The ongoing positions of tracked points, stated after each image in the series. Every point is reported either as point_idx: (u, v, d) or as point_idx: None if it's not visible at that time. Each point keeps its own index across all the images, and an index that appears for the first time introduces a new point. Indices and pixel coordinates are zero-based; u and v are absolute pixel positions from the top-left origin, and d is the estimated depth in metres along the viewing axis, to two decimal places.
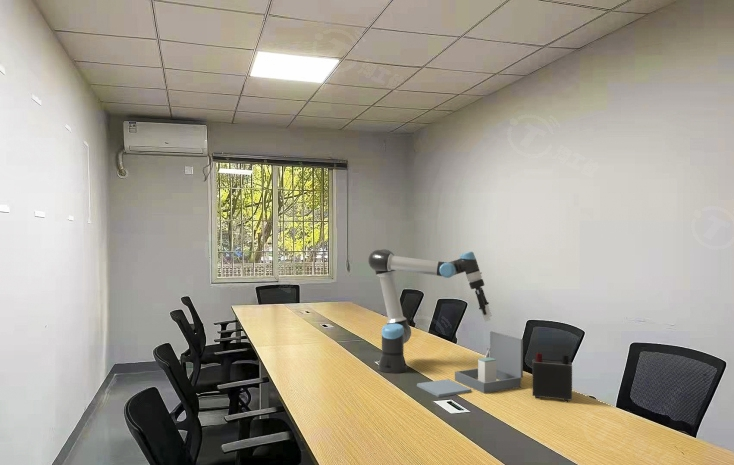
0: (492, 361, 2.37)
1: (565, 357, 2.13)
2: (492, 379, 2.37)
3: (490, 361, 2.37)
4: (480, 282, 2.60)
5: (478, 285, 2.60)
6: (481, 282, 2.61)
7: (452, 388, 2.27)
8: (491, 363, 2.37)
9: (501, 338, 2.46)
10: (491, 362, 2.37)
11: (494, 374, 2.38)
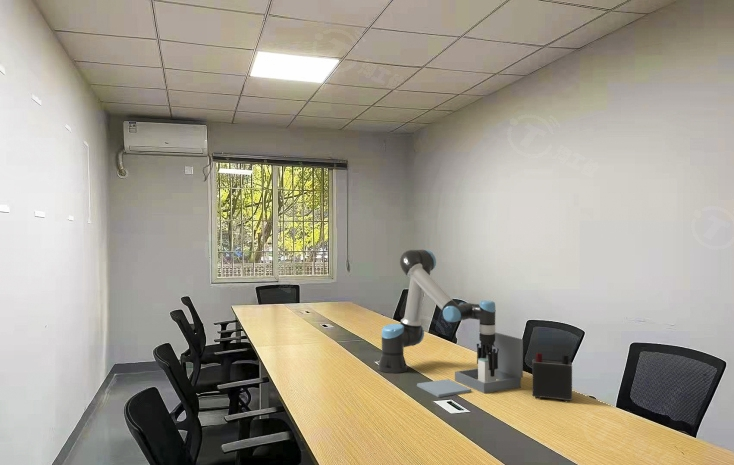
0: None
1: (565, 357, 2.13)
2: None
3: None
4: None
5: (493, 340, 2.36)
6: None
7: (452, 388, 2.27)
8: None
9: (501, 338, 2.46)
10: None
11: (494, 374, 2.38)
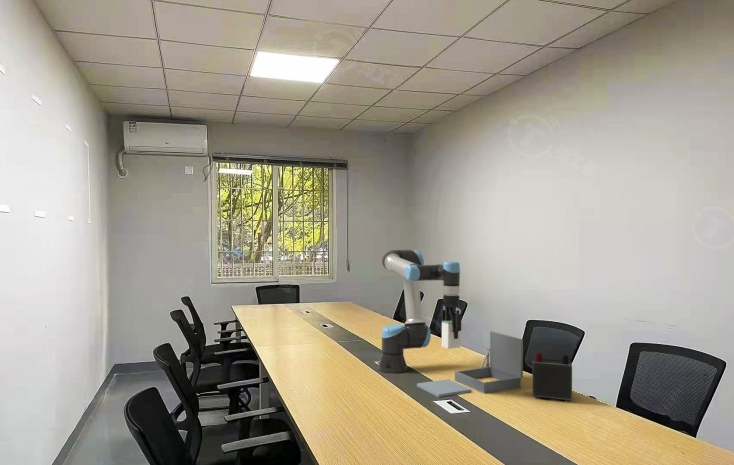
0: None
1: (565, 357, 2.13)
2: None
3: None
4: None
5: (457, 301, 2.29)
6: None
7: (452, 388, 2.27)
8: None
9: (501, 338, 2.46)
10: None
11: (458, 337, 2.31)
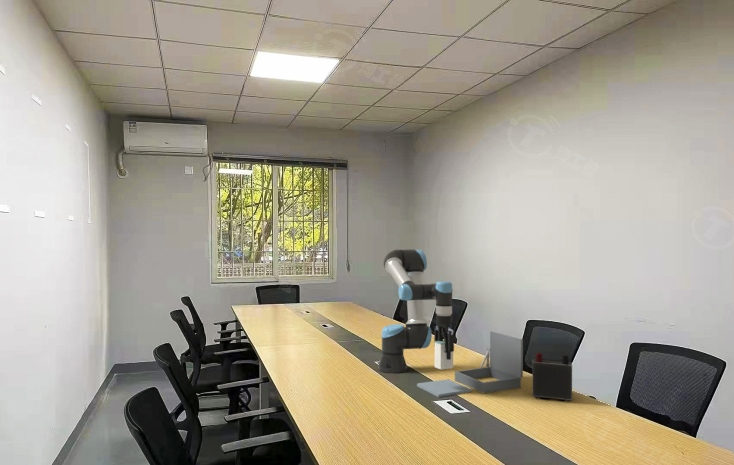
0: None
1: (565, 357, 2.13)
2: None
3: None
4: (451, 318, 2.29)
5: (450, 321, 2.28)
6: None
7: (452, 388, 2.27)
8: None
9: (501, 338, 2.46)
10: None
11: (451, 357, 2.29)
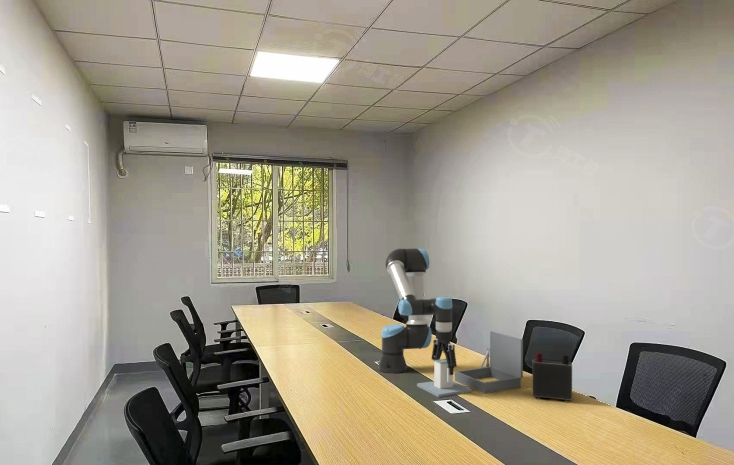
0: None
1: (565, 357, 2.13)
2: None
3: (446, 363, 2.28)
4: (451, 334, 2.29)
5: (450, 337, 2.27)
6: (451, 335, 2.29)
7: (452, 388, 2.27)
8: (447, 365, 2.28)
9: (501, 338, 2.46)
10: (447, 364, 2.28)
11: None
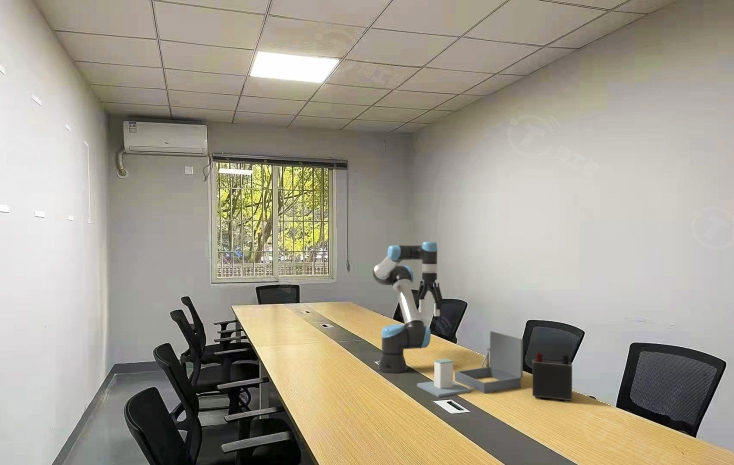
0: (448, 363, 2.28)
1: (565, 357, 2.13)
2: (448, 381, 2.28)
3: (446, 363, 2.28)
4: (436, 275, 2.49)
5: (435, 278, 2.48)
6: (436, 276, 2.50)
7: (452, 388, 2.27)
8: (447, 365, 2.28)
9: (501, 338, 2.46)
10: (447, 364, 2.28)
11: (450, 376, 2.29)
